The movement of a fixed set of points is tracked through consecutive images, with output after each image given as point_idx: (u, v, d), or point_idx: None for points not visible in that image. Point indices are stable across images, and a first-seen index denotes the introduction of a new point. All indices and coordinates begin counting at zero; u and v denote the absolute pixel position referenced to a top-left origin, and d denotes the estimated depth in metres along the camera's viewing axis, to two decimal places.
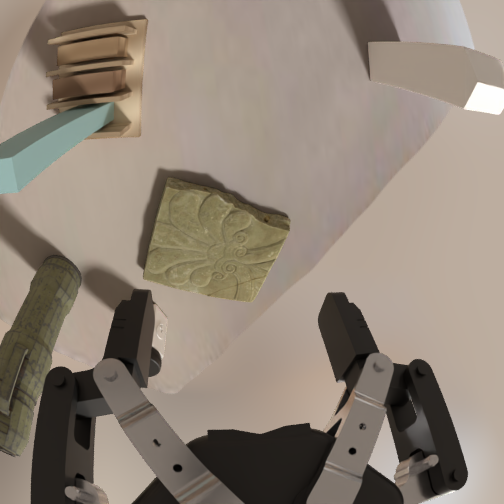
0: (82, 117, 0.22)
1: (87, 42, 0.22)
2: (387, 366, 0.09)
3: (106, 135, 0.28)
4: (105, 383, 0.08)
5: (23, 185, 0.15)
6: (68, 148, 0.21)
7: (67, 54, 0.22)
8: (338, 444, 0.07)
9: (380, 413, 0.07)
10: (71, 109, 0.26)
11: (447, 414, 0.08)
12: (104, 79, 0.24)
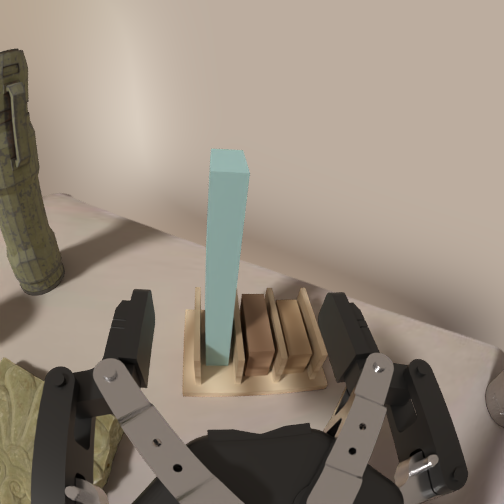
0: (232, 306, 0.25)
1: (302, 325, 0.32)
2: (387, 366, 0.09)
3: (196, 345, 0.27)
4: (105, 383, 0.08)
5: (211, 182, 0.18)
6: (208, 275, 0.23)
7: (288, 308, 0.34)
8: (338, 444, 0.07)
9: (380, 413, 0.07)
10: None
11: (447, 414, 0.08)
12: (264, 343, 0.28)
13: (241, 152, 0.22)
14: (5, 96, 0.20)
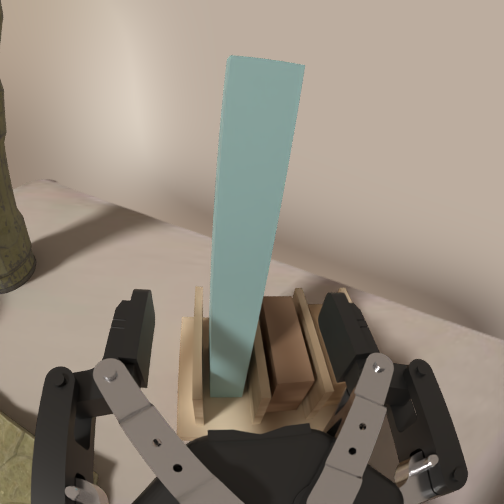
0: (256, 316, 0.15)
1: None
2: (387, 366, 0.09)
3: (195, 375, 0.17)
4: (105, 383, 0.08)
5: (232, 76, 0.08)
6: (217, 263, 0.13)
7: None
8: (338, 444, 0.07)
9: (380, 413, 0.07)
10: None
11: (447, 414, 0.08)
12: (298, 369, 0.18)
13: None
14: None
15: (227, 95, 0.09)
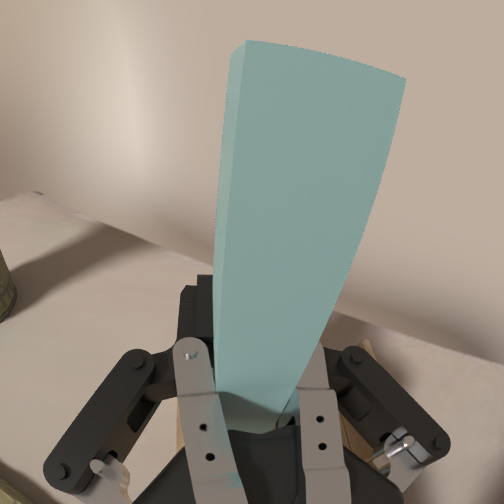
0: (272, 423, 0.10)
1: None
2: (315, 350, 0.10)
3: None
4: (188, 361, 0.09)
5: (250, 92, 0.04)
6: (222, 389, 0.08)
7: None
8: (305, 446, 0.07)
9: (331, 398, 0.08)
10: None
11: (402, 390, 0.09)
12: None
13: None
14: None
15: (237, 137, 0.04)
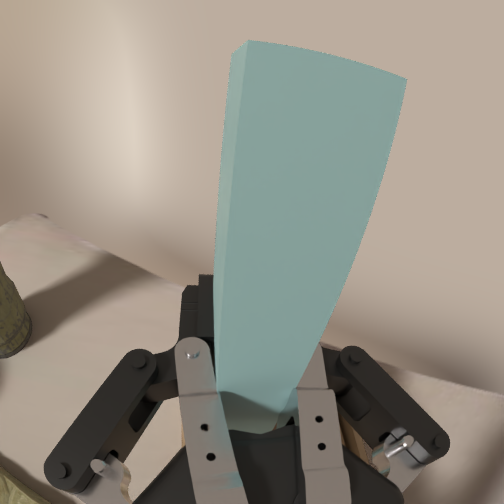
0: (272, 423, 0.10)
1: None
2: None
3: None
4: (190, 361, 0.09)
5: (252, 92, 0.04)
6: (223, 389, 0.08)
7: None
8: (305, 446, 0.07)
9: (330, 398, 0.08)
10: None
11: (401, 390, 0.09)
12: None
13: None
14: None
15: (239, 137, 0.04)
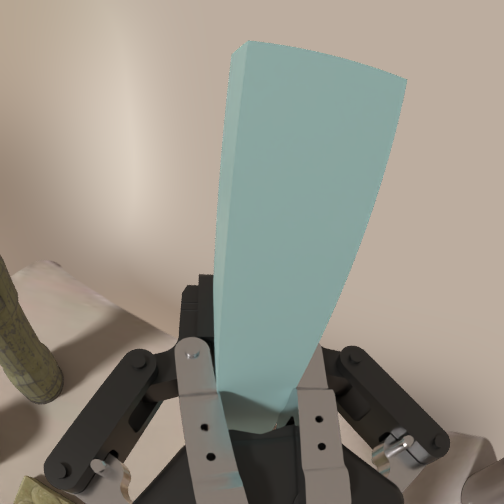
0: (272, 423, 0.10)
1: None
2: None
3: None
4: (190, 361, 0.09)
5: (251, 93, 0.04)
6: (223, 389, 0.08)
7: None
8: (304, 446, 0.07)
9: (330, 398, 0.08)
10: None
11: (401, 390, 0.09)
12: None
13: None
14: None
15: (238, 138, 0.04)
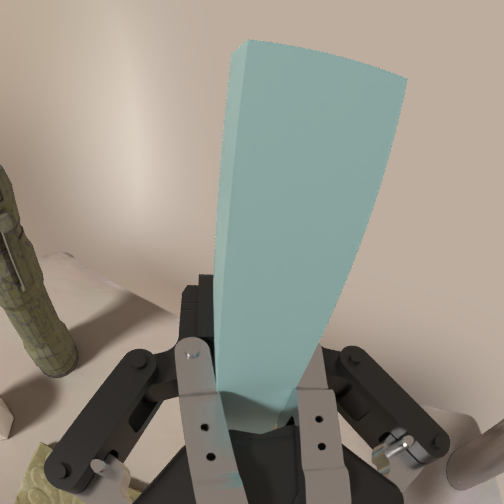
0: (272, 423, 0.10)
1: None
2: None
3: None
4: (190, 361, 0.09)
5: (252, 92, 0.04)
6: (223, 389, 0.08)
7: None
8: (305, 446, 0.07)
9: (330, 398, 0.08)
10: None
11: (401, 390, 0.09)
12: None
13: None
14: None
15: (239, 137, 0.04)
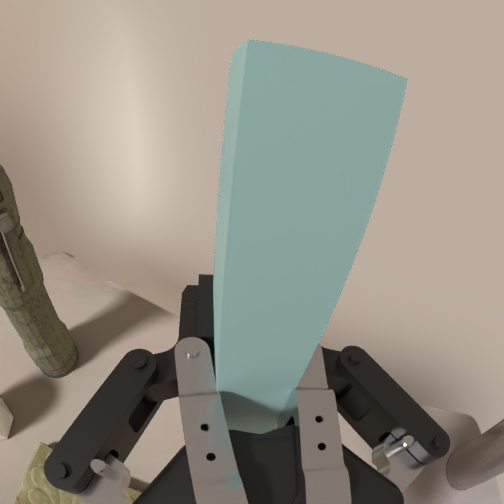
0: (272, 423, 0.10)
1: None
2: None
3: None
4: (190, 361, 0.09)
5: (252, 92, 0.04)
6: (223, 389, 0.08)
7: None
8: (305, 446, 0.07)
9: (330, 398, 0.08)
10: None
11: (401, 390, 0.09)
12: None
13: None
14: None
15: (239, 137, 0.04)
